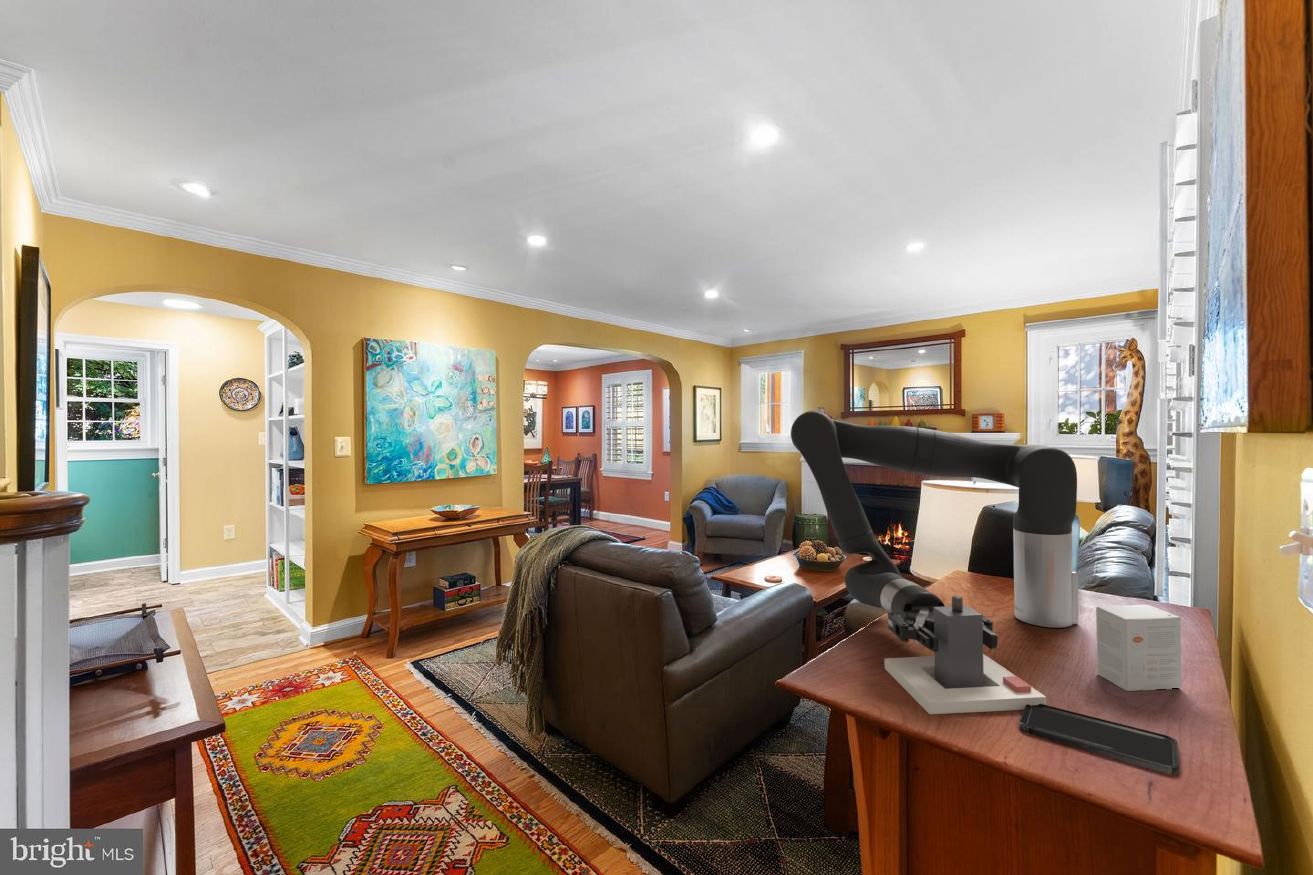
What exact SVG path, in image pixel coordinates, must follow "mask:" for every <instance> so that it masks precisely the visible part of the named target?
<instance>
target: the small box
mask: <svg viewBox="0 0 1313 875" xmlns="http://www.w3.org/2000/svg"><path fill="white" fill-rule="evenodd" d="M1095 612H1096V613H1095V616H1096V622H1095V623H1096V663H1097V665H1096V667H1097V668H1096V669H1097V670H1096V671H1097V675H1098V676H1099V677H1102V678H1103V679H1104V680H1107V681H1108V682H1110V683H1112V684H1114V685H1116V686H1117V687H1119V688H1120V689H1122V690H1123V691H1126V692H1132V691H1133V692H1135V691H1136V692H1137V691H1138V692H1139V691H1140V690H1141V691H1157V690H1156V689H1166V690H1173V689H1172V688H1182V642H1181V640H1182V639H1181V638H1182V636H1181V635H1182V634H1181V633H1182V632H1181V630H1182V628H1181V627H1182V625H1181V623H1182V622H1181V617H1180V616H1178V615H1175V614H1174V613H1173V614H1172V613H1170V612H1167V611H1166V610H1162V609H1160V608H1157V607H1155V606H1152V605H1149V604H1132V605H1129V604H1127V605H1106V606H1104V605H1103V606H1096V607H1095Z"/></svg>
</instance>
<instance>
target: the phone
mask: <svg viewBox="0 0 1313 875" xmlns="http://www.w3.org/2000/svg"><path fill="white" fill-rule="evenodd" d="M1019 729H1020V731H1022V732H1023V733H1025V734H1028V735H1031V736H1035V737H1039V738H1042V739H1045V740H1049V741H1052V742H1057V743H1059V744H1064V745H1066V746H1069V747H1072V748H1075V749H1076V748H1077V749H1080V750H1083V751H1087V752H1090V753H1094V754H1098V755H1100V756H1105V757H1108V758H1110V759H1114V760H1118V761H1122V762H1125V763H1129V764H1132V765H1136V766H1138V767H1143V768H1146V769H1149V770H1153V771H1155V772H1159V773H1164V774H1168V775H1178V774H1180V760H1179V759H1180V758H1179V756H1180V755H1179V743H1178V740H1176V738H1173V737H1171V736H1169V735H1166V734H1162V733H1158V732H1154V731H1150V730H1147V729H1142V728H1138V727H1134V726H1131V725H1127V724H1124V723H1123V724H1122V723H1118V722H1115V721H1111V720H1107V719H1103V718H1099V717H1095V716H1091V715H1087V714H1083V713H1080V712H1075V711H1071V710H1067V709H1063V708H1060V707H1055V706H1051V705H1048V704H1046V705H1044V704H1039V705H1030V704H1028V705H1026V707H1025V709H1024V710H1023V712H1022V714H1021V717H1020V719H1019Z"/></svg>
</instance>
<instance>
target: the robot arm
mask: <svg viewBox="0 0 1313 875" xmlns="http://www.w3.org/2000/svg"><path fill="white" fill-rule="evenodd" d="M790 440H791V441H792V443H793V446H794V447H795V448H796V450H797V451H799V452H800V455H801V456H802V457H803V459H804V461H805V462H806V464H807V465H808V467H809V469H810V471H811V473H812V475H813V477H814V479H815V481H816V484H817V486H818V490H819V492H820V496H821V498H822V501H823V504H824V507H825V510H826V513H827V516H828V519H829V521H830V524H831V526H832V529H833V531H834V534H835V537H836V539H837V541H838V544H839V547H840V549H841V550H842V552H843V553H845V555H846V554H847V555H854V554H861V553H862V554H863V553H866V554H868V555H869V557H870V558H871V559H870V560H867V561H865V562H862V563H860V564H857V565H854V566H852V567H850V568H849V569H847V571H846V572H845V576H844V585H845V587H846V588H845V589H846V590H847V592H848V593H849V594H850V596H851V597H852V598H853V599H855V601H857V602H859V603H861V604H864V605H866V606H870V607H874V608H879V609H882V610H883V611H884V612H885V613H886V614H887V621H888V622H887V625H888V626H887V627H888V630H889V631H890V632H891V633H893V635H894V636H896V638H898V639H899V640H900V641H901V642H903V643H908V642H909V640H913V642H914V643H917V644H920V645H922V646H923V647H924V648H927V649H928V650H930V651H931V652H936V651H938V650H939V645H938V637H937V636H936V635H934V607H946V605H945V604H944V602H943V601H942V599H941V598H939V596H938V595H936V594H935V593H932V592H931V591H929V590H928V589H926V588H924V587H922V586H921V585H919V584H917V583H915V582H913V581H910V580H909V579H906V578H905V577H903V576H902V575H901V572H900V570H899V568H898V567H897V566H896V564H895V563H894V561H893V560H892V559H891V558H890V556H889V555H888V554H887V553H886V552H885V550H884V548H883V547H882V545H881V544H880V543H879V541H878V539H877V538H876V536H875V534H874V531H873V529H872V527H871V524H870V522H869V520H868V517H867V515H866V512H865V510H864V508H863V506H862V504H861V501H860V500H859V497H858V495H857V492H856V491H855V489H854V486H853V484H852V482H851V480H850V478H849V475H848V473H847V469H846V467H845V464H844V461H843V459H844V458H846V459H852V460H859V461H863V462H867V463H869V464H873V465H878V466H880V467H884V468H887V469H892V470H897V471H900V472H906V473H912V474H917V475H918V474H919V475H923V476H932V477H938V478H939V477H940V478H941V477H942V478H943V477H944V478H977V479H982V480H989V481H991V482H995V483H996V482H997V483H1000V484H1005V485H1009V486H1012V487H1015V488H1018V505H1017V506H1018V507H1017V509H1016V512H1015V513H1014V514H1013V517H1012V529H1013V530H1012V531H1013V532H1012V533H1013V535H1012V536H1013V537H1012V538H1013V540H1012V541H1013V583H1014V584H1013V586H1014V587H1013V588H1014V592H1013V595H1014V596H1013V597H1014V598H1013V599H1014V601H1013V602H1014V605H1013V606H1014V617H1015V618H1016V619H1018V620H1019V621H1021V622H1024V623H1026V624H1030V625H1033V626H1038V627H1045V628H1053V629H1054V628H1057V629H1059V628H1061V629H1062V628H1068V627H1069V628H1070V627H1071V626H1073V625H1076V624H1079V575H1078V573H1077V572H1076V571H1074V570H1073V523H1074V520H1075V518H1076V514H1077V504H1078V502H1077V500H1078V474H1077V473H1078V472H1077V467H1076V464H1075V461H1074V460H1073V458H1072V457H1071V455H1070V454H1068V453H1067V452H1066V451H1064V450H1063V449H1060V448H1057V447H1053V446H1048V445H1047V446H1046V445H1042V444H1041V445H1040V444H1009V443H1008V444H1007V443H995V442H986V441H982V440H981V441H980V440H977V439H973V438H970V437H966V436H964V435H963V436H962V435H959V434H956V433H951V432H946V431H942V430H941V431H940V430H939V429H938V430H937V429H931V428H924V427H916V426H906V425H863V424H856V423H851V422H845V421H841V420H837V419H832V418H831V417H829V416H828V414H826V413H824V412H820V411H816V410H811V411H805V412H803V413H801V414H800V415H799V416H797V418H796V419H795V420H794V421H793V423H792V426H791V428H790ZM842 458H843V459H842ZM993 626H994V621H993V620H991V619H990V618H988V617H986V616H985V615H983V646H985V647H987V648H988V649H989V650H995V649H996V650H997V647H998V646H999V645H998V642H999V641H998V639H999V637H998V636H999V635H998V634H997V633H996V632H994V627H993Z"/></svg>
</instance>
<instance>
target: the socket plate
mask: <svg viewBox="0 0 1313 875" xmlns="http://www.w3.org/2000/svg"><path fill="white" fill-rule="evenodd" d="M883 660H884V669H885V670H886V671H887V672H888V674H890V676H891V677H892V678H894V680H895V681H896V682H897V683H898V684H899V685H900V686H901V687H903V689H904V690H905V691H906V692H907V693H908V694H909V695H910V697H912V698H913V699H914V700H915V702H917V703H918V704H919V705H920V706H921V707H922V708H923V709H924V710H925V711H926V712H927V713H928V714H929V715H944V714H963V713H982V712H983V713H985V712H1004V711H1006V712H1007V711H1024V709H1025V707H1026V705H1028V704H1030V705H1039V704H1044V705H1047V696H1045V695H1044V694H1042V693H1041V692H1040V691H1039V690H1037V689H1036V688H1034V687H1033V686H1032V685H1031V684H1028V683H1027V682H1026V681H1025V680H1023V679H1021V678H1020V677H1018V676H1016V675H1015V674H1014V673H1012V672H1010V671H1009V670H1008V669H1006V668H1005V667H1003V666H1002V665H1001V664H999V663H997V662H996V661H995V660H993V659H992V658H990V657H989V656H988V655H986V654H984V653H983V673H984V687H972V688H951V689H945V688H944V687H943V686H942V685H941V684H940V683H939V682H937V681H936V680H935V655H933V656H910V657H906V656H905V657H889V658H887V657H886V658H884V659H883Z"/></svg>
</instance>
